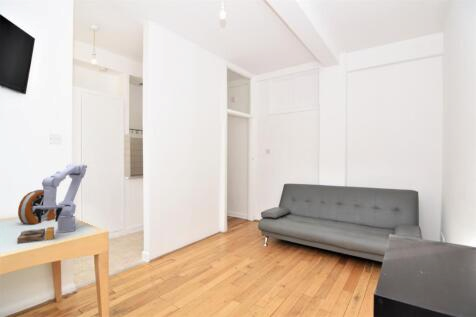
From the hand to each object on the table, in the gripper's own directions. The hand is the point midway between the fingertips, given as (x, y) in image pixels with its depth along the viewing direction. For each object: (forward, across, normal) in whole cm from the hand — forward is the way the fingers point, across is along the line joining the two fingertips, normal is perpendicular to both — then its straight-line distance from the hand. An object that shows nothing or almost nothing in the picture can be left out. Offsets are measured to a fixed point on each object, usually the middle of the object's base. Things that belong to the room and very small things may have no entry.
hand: (48, 221), depth 139 cm
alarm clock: (+7, -13, +46) cm, 48 cm away
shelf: (+9, -8, +5) cm, 13 cm away
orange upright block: (+10, +1, +1) cm, 10 cm away
